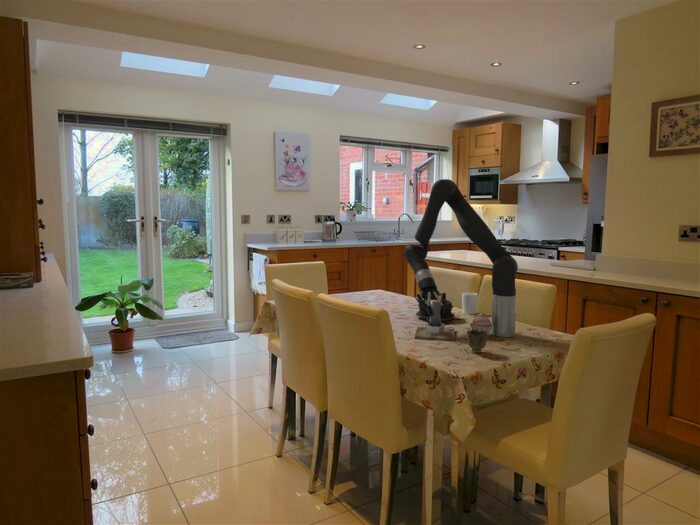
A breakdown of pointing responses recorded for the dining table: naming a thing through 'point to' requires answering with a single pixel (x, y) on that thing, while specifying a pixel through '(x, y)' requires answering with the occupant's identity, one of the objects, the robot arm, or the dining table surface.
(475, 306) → the white cup
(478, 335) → the cup
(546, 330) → the dining table surface
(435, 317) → the grey cylinder tan top
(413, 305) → the dining table surface
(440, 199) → the robot arm
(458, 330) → the dining table surface
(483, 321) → the cupcake
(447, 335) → the board
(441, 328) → the grey octagonal sleeve
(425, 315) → the casserole
